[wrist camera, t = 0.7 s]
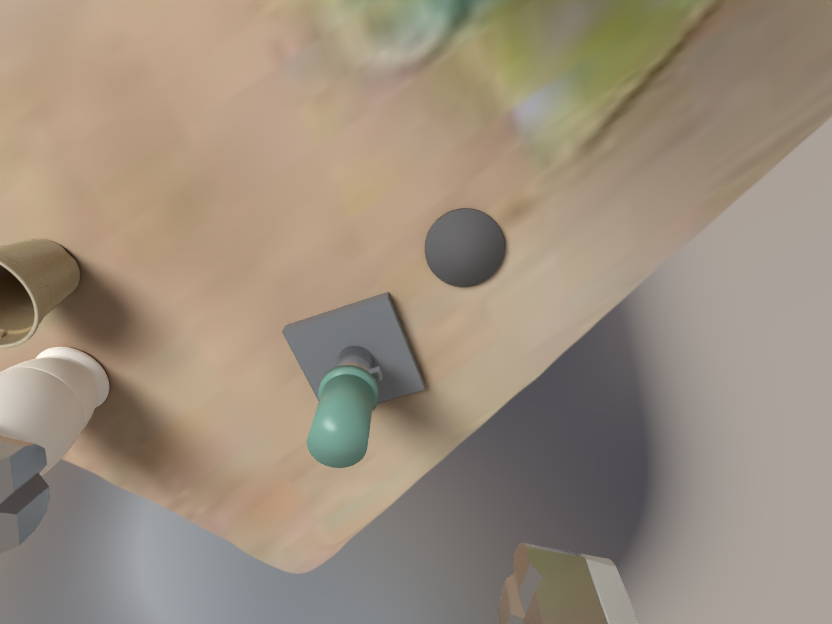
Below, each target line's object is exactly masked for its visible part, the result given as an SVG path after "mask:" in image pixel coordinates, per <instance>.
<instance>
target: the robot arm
mask: <svg viewBox="0 0 832 624" xmlns="http://www.w3.org/2000/svg"><path fill="white" fill-rule="evenodd" d="M46 466H47V459H46V452H45V448H43V447H41V446H39V445H37V444H35V443H30V442H26V441H22V440H17V439H13V438H9V437H4V436H0V554H1V553H3V552H6V551H8V550H10V549H12V548H15V547H17V546H19V545H20V544H22V542H24V541H25V540H26V539H27V538H28V537H29V536H30V535H31V534H32V533H33V532H34V531H35V530H36V528H37V527H38V525H39V523H40V522H41V520H42V518H43V517H44V515H45V514H46V511H47V507H48V503H49V500H50V495H49V494H50V493H49V486H48V484H47V483H46V482H45V480H44V479H43V478H42V477H41V475H40V474H39V473H40V472H41V471H42V470H43V469H44V468H45V467H46ZM513 563H514V570H515V573H514V574H513V575H511V576H510V577H508V578H507V579H506V580H505V583H504V587H503V590H502V593H501V599H500V607H499V624H640V623H639V620H638V618H637V616H636V614H635V611H634V609H633V606H632V604H631V602H630V599H629V597H628V595H627V592H626V590H625V587H624V585H623V583H622V580H621V578H620V576H619V573H618V571H617V568H616V566H615V564H614V563H613V562H612V561H611V560H610V559H606V558H601V557H596V556H590V555H584V554H577V553H573V552H568V551H562V550H558V549H552V548H547V547H542V546H537V545H532V544H527V543H521V544H520V545H519V546H518V548H517V550H516V553H515V555H514V558H513Z"/></svg>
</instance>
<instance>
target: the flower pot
mask: <svg viewBox="0 0 832 624" xmlns="http://www.w3.org/2000/svg"><path fill="white" fill-rule="evenodd" d="M79 281H80V270H79V267H78V264H77V262H76V260H75V259H74V258H72V257H71V256H70V255H69V254H68V253H67V252H66V251H65V250H64V248H63V247H62V246H60V245H58V244H56V243H54V242H52V241H49V240H44V239H32V240H28V241H24V242H19V243H14V244H9V245H4V246H0V348H10V347H14V346H17V345H20V344H22V343H24V342H26V341H27V340H28V339H30V338H31V337H32V336H33V335H34V333H35V332H36V330H37V328H38V325H39V324H40V323H41V321H42V319H43V317H44V316H45V315H47V314H48V313H49V312H50V311H51V310H52V309H53V308H54V307H56V306H57V305H58V304H59V303H60V302H61V301H63V300H64V299H65V298H66V297H67V296H68V295H70V294H71V293H72V292H73V291H74V290H75V289H76V288H77V287H78V285H79Z"/></svg>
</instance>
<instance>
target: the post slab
mask: <svg viewBox="0 0 832 624" xmlns="http://www.w3.org/2000/svg"><path fill="white" fill-rule="evenodd" d="M282 332H283V334H284V336H285V338H286V340H287V342H288V344H289V346H290V348H291V350H292V351H293V353H294V355H295V357H296V359H297V361H298V363H299V365H300V367H301V369H302V370H303V372H304V374H305V376H306V378H307V380H308V382H309V384H310V386H311V387H312V389H313V391H314V393H315V395H316V397H317V399H318V401H319V397H318V391H319V387H320V384H321V381H322V379H323V377H324V375H325V374H326V373H327V372H328V371H330V370H331V369H333V368H335V365H336V362H337V359H338V356H339V354H340V352H341V351H342V350H343V349H345V348H346V347H349V346H361V347H363V348H365V349H367V350H368V351H369V352H370V353H371V354H372V356H373V359H374V366H373V368H375V367H380V369H381V372H382V374H383V375H382V380H379V381H376V382H377V384H378V388H379V393H378V401H377V404H378V403H381V402H385V401H388V400H392V399H395V398H398V397H402V396H405V395H409V394H412V393H415V392H419V391H422V390H425V382H424V379H423V377H422V374H421V372H420V369H419V367H418V364H417V362H416V359H415V357H414V354H413V352H412V350H411V347H410V345H409V342H408V340H407V337H406V335H405V332H404V330H403V327H402V325H401V322H400V320H399V317H398V315H397V312H396V310H395V307H394V305H393V302H392V300H391V297H390V295H389V293H388V292H387V293H384V294H381V295H378V296H375V297H372V298H369V299H366V300H362V301H359V302H356V303H353V304H350V305H347V306H344V307H341V308H338V309H335V310H332V311H329V312H326V313H323V314H320V315H317V316H314V317H310V318H307V319H304V320H301V321H298V322H295V323H292V324H289V325H286V326H285V328H284V330H283V331H282Z"/></svg>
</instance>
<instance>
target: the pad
mask: <svg viewBox="0 0 832 624" xmlns="http://www.w3.org/2000/svg"><path fill="white" fill-rule="evenodd" d="M504 249H505V244H504V237H503V234H502V232H501V230H500V228H499V226H498V225H497V223H496V222H495V221H494V220H493V219H492V218H491V217H490V216H489V215H487V214H485V213H484V212H481V211H479V210H475V209H469V208H463V209H457V210H453V211H450V212H448V213H446V214H444V215H443V216H441V217H440V218H439V219H438V220H437V221H436V222H435V223H434V224H433V225H432V227H431V228H430V230H429V232H428V235H427V238H426V242H425V255H426V260H427V263H428V265H429V267H430V269H431V271H432V272H433V273H434V274H435V275H436V276H437V277H438V278H439V279H441V280H442V281H444V282H446V283H448V284H450V285H454V286H472V285H476V284H479V283H481V282H483V281H485V280H486V279H488V278H489V277H490V276H491V275H493V274H494V272H495V271H496V270H497V269H498V267H499V266H500V264H501V262H502V259H503V256H504Z"/></svg>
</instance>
